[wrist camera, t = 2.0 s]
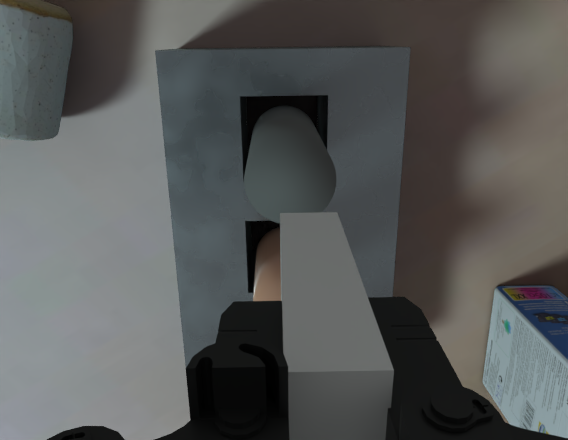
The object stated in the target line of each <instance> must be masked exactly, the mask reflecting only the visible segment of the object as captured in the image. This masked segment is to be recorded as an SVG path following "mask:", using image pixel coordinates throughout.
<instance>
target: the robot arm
mask: <svg viewBox="0 0 568 440" xmlns="http://www.w3.org/2000/svg"><path fill="white" fill-rule="evenodd" d="M280 250H281V301H234V302H233V303H232V304H231V305H230V306H229V307H228V308H227V309H226V310H225V311H224V312H223V313H222V314H221V318H220V323H219V328H218V334H217V338H216V343H215V344H212V345H209V346H207V347H205V348H203V349H202V350H201V351H199V352H198V353H197V354H195V355H194V356H193V357H192V359H191V360H190V362H189V364H188V366H187V367H186V376H187V386H188V397H189V407H190V418H191V420H190V421H189V422H188V423H187V424H186V425H185V426H183V427H182V428H180V429H178V430H177V431H175V432H173V433H171V434H169V435H166V436H163V437H161V438H158V439H155V440H568V438H564V437H560V436H555V435H550V434H546V433H541V432H536V431H532V430H527V429H523V428H520V427H516V426H513V425H510V424H508V423H505V422H504V420H503V418H502V417H501V415H500V413H499V412H498V411H497V410H496V409H495V408H494V406H493V405H492V404H491V403H490V402H489V401H488V400H487V399H485V398H484V397H482V396H481V395H479V394H477V393H476V392H474V391H473V390H470V389H467V388H464V387H463V386H462V384H461V382H460V380H459V379H458V377H457V375H456V373H455V371H454V369H453V367H452V366H451V364H450V362H449V360H448V358H447V356H446V355H445V353H444V351H443V349H442V347H441V345H440V343H439V342H438V341H437V340H436V336H435V334H434V332H433V331H432V329H431V328H430V327H429V323H428V321H427V319H426V318H425V316H424V314H423V312H422V310H421V309H420V308H418V307H417V306H416V305H414V304H413V303H412V302H410V301H409V300H408V299H406V298H405V297H367V294H366V291H365V288H364V285H363V283H362V280H361V277H360V274H359V272H358V269H357V266H356V263H355V260H354V258H353V255H352V252H351V249H350V247H349V244H348V241H347V238H346V235H345V233H344V230H343V227H342V224H341V221H340V219H339V216H338V213H337V212H316V213H280ZM47 440H125V439H124V438H123V437H122V436H121V435H120V434H119V432H117V431H114V430H111V429H109V428H106V427H104V426H82V427H78V428H74V429H70V430H66V431H63V432H61V433H59V434H57V435H55V436H53V437H51V438H49V439H47Z"/></svg>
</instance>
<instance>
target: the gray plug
mask: <svg viewBox="0 0 568 440" xmlns="http://www.w3.org/2000/svg"><path fill="white" fill-rule="evenodd" d="M244 186H245V191H246V194H247V197H248V199H249V201H250V203H251V204H252V206H253V207H254V208H255V210H256V211H257V212H258V213H260V214H261V215H262V216H264V217H265V218H267V219H269V220H271V221H273V222H276V223H280V213H316V212H322V211H323V210H324V209H325V208H326V207H327V206H328V204H329V203H330V201H331V199H332V198H333V195H334V192H335V188H336V170H335V166H334V163H333V161H332V159H331V157H330V155H329V153H328V151H327V149H326V147H325V145H324V143H323V142H322V140H321V138H320V136H319V134H318V132H317V130H316V128H315V126H314V124H313V122H312V120H311V119H310V118H309V116H308V115H307V114H306V113H304V112H303V111H302V110H300V109H298V108H296V107H293V106H285V105H284V106H277V107H273V108H271V109H269V110H267V111H266V112H264V113H263V114H262V115H261V116H260V117H259V119H258V120H257V122H256V124H255V126H254V129H253V134H252V139H251V144H250V149H249V154H248V159H247V164H246V169H245V175H244Z"/></svg>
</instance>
